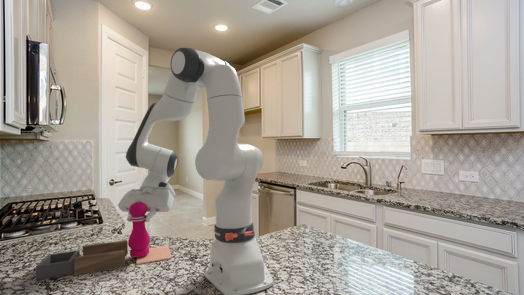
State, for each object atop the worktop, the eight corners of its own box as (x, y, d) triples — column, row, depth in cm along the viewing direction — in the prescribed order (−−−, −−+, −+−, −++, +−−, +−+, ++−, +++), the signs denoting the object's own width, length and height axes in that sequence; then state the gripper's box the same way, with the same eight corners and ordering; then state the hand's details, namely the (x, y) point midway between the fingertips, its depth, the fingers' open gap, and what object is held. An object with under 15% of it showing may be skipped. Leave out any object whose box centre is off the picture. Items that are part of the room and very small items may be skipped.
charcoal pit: (71, 274, 86) (71, 261, 86) (36, 280, 83) (35, 266, 83) (79, 261, 97) (79, 250, 97) (48, 266, 93) (48, 254, 93)
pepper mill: (150, 249, 103) (149, 195, 104) (150, 255, 97) (148, 198, 97) (129, 252, 101) (127, 197, 101) (127, 259, 94) (125, 200, 94)
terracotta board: (171, 259, 96) (171, 257, 96) (136, 264, 92) (136, 263, 92) (168, 246, 109) (168, 245, 109) (138, 251, 105) (138, 249, 105)
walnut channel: (124, 266, 91) (124, 251, 91) (74, 274, 86) (74, 258, 86) (127, 253, 103) (127, 239, 103) (83, 260, 98) (83, 245, 98)
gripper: (124, 184, 108) (107, 215, 98) (173, 183, 104) (159, 216, 94) (132, 194, 112) (116, 225, 102) (179, 193, 108) (167, 225, 98)
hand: (137, 220), depth 98 cm, fingers closed on pepper mill, 5 cm apart
